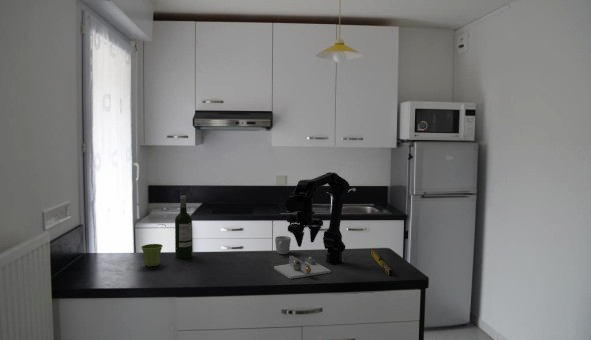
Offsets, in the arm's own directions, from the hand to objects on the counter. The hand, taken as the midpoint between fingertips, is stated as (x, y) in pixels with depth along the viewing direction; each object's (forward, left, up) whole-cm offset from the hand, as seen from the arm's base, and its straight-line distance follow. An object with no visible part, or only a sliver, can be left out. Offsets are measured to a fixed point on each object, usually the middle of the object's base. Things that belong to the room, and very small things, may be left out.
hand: (305, 244), depth 185 cm
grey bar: (+2, -2, -11) cm, 12 cm away
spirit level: (-38, +5, -13) cm, 41 cm away
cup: (-4, -31, -13) cm, 34 cm away
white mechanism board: (0, -3, -13) cm, 13 cm away
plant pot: (+58, -40, -13) cm, 72 cm away
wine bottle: (+42, -47, -13) cm, 65 cm away
